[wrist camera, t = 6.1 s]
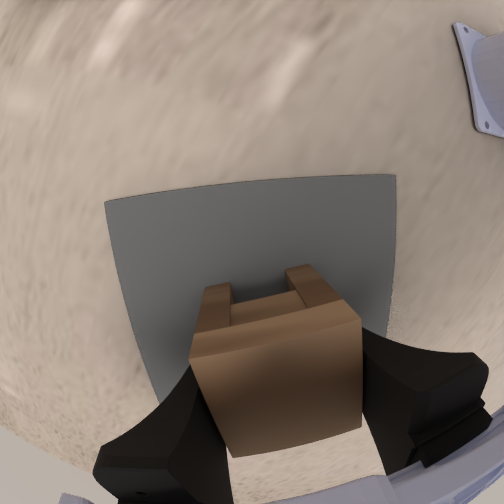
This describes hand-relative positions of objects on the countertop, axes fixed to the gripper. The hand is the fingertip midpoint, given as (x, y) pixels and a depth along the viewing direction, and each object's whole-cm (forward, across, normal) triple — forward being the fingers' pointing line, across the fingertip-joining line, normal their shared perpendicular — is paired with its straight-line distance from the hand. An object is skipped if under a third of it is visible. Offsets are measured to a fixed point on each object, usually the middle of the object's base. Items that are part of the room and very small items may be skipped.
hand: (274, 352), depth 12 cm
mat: (+3, 0, 0) cm, 3 cm away
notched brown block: (+2, 0, 0) cm, 2 cm away
